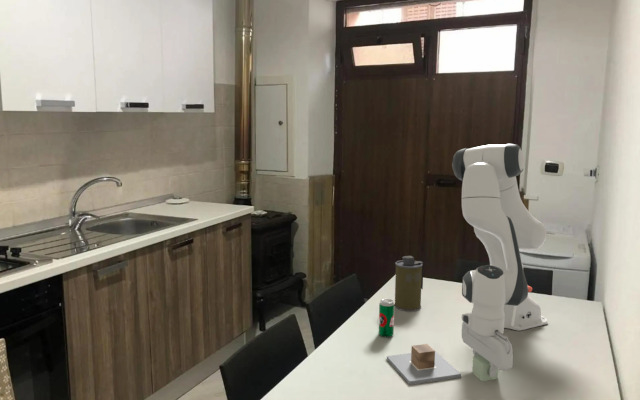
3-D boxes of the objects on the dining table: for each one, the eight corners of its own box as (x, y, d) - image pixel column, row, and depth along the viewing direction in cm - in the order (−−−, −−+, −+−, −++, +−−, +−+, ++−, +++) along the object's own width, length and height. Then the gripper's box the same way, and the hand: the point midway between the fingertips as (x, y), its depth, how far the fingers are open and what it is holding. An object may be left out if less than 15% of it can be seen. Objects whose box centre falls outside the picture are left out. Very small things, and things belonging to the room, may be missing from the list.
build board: (434, 353, 162) (434, 349, 162) (461, 377, 147) (461, 373, 147) (386, 359, 158) (386, 355, 158) (409, 384, 143) (409, 381, 143)
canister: (400, 312, 197) (401, 261, 194) (390, 302, 207) (391, 254, 204) (426, 309, 199) (428, 259, 196) (415, 300, 209) (417, 252, 206)
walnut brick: (426, 359, 155) (426, 343, 155) (434, 367, 151) (435, 351, 150) (411, 361, 154) (411, 345, 153) (418, 369, 149) (419, 353, 149)
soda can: (393, 338, 173) (393, 304, 171) (377, 337, 174) (378, 302, 172) (394, 332, 178) (394, 298, 176) (379, 331, 179) (379, 297, 177)
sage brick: (487, 370, 151) (488, 354, 150) (497, 378, 146) (498, 362, 146) (472, 372, 150) (472, 356, 149) (482, 381, 145) (482, 364, 144)
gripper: (520, 337, 137) (517, 386, 139) (477, 310, 156) (475, 353, 158) (499, 340, 135) (497, 389, 137) (458, 312, 154) (456, 356, 156)
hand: (484, 370), depth 148 cm, fingers closed on sage brick, 5 cm apart
